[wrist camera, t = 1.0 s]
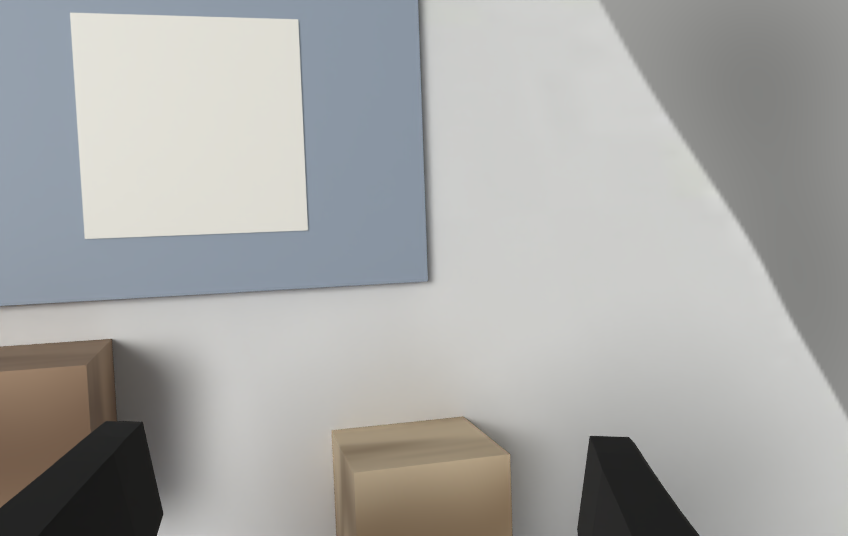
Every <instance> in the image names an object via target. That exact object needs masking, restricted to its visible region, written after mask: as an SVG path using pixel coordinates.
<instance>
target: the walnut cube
mask: <svg viewBox="0 0 848 536" xmlns="http://www.w3.org/2000/svg"><path fill="white" fill-rule="evenodd" d="M105 421H117V411H116V396H115V380H114V364H113V349H112V339H103V340H89V341H75V342H60V343H46V344H32V345H17V346H3V347H0V508H1V507H2V506H3V505H4V504H5V503H7V502H8V501H9V500H10V499H12V498H13V497H14V496H15V495H16V494H18V493H19V492H20V491H21V490H23V489H24V488H25V487H26V486H27V485H29V484H30V483H31V482H32V481H34V480H35V479H36V478H37V477H38V476H40V475H41V474H42V473H43V472H45V471H46V470H47V469H48V468H49V467H50V466H52V465H53V464H54V463H55V462H56V461H58V460H59V459H60V458H61V457H62V456H64V455H65V454H66V453H67V452H68V451H70V450H71V449H72V448H73V447H74V446H76V445H77V444H78V443H79V442H80V441H82V440H83V439H84V438H85V437H86V436H88V435H89V434H90V433H91V432H92V431H94V430H95V429H96V428H97V427H99V426H100V425H101V424H103V423H104V422H105Z"/></svg>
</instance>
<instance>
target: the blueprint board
mask: <svg viewBox="0 0 848 536" xmlns="http://www.w3.org/2000/svg"><path fill="white" fill-rule="evenodd" d="M423 281H428V271H427V242H426V214H425V186H424V158H423V129H422V101H421V73H420V45H419V16H418V0H0V306H8V305H25V304H42V303H60V302H77V301H94V300H112V299H129V298H146V297H164V296H181V295H198V294H216V293H233V292H250V291H268V290H285V289H302V288H319V287H337V286H354V285H371V284H389V283H406V282H423Z"/></svg>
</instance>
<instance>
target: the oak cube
mask: <svg viewBox="0 0 848 536" xmlns="http://www.w3.org/2000/svg"><path fill="white" fill-rule="evenodd" d="M332 449H333V472H334V494H335V516H336V536H512V503H511V469H510V454H509V453H508V452H507V451H506V450H504V449H503V448H502V447H501V446H499V445H498V444H497V443H496V442H494V441H493V440H492V439H491V438H489V437H488V436H487V435H486V434H484V433H483V432H482V431H481V430H479V429H478V428H477V427H476V426H474V425H473V424H472V423H471V422H469V421H468V420H467V419H466V418H464V417H454V418H445V419H435V420H426V421H416V422H407V423H397V424H388V425H378V426H368V427H359V428H349V429H340V430H332Z"/></svg>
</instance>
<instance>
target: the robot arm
mask: <svg viewBox="0 0 848 536" xmlns="http://www.w3.org/2000/svg"><path fill="white" fill-rule="evenodd" d="M162 516H163V510H162V506H161V501H160V497H159V493H158V488H157V484H156V479H155V475H154V471H153V466H152V462H151V457H150V453H149V448H148V444H147V440H146V435H145V431H144V426H143V422H124V421H105V422H104V423H103V424H101V425H100V426H99V427H97V428H96V429H95V430H94V431H92V432H91V433H90V434H89V435H88V436H86V437H85V438H84V439H83V440H82V441H80V442H79V443H78V444H77V445H76V446H74V447H73V448H72V449H71V450H70V451H68V452H67V453H66V454H65V455H64V456H62V457H61V458H60V459H59V460H58V461H56V462H55V463H54V464H53V465H52V466H50V467H49V468H48V469H47V470H46V471H45V472H43V473H42V474H41V475H40V476H38V477H37V478H36V479H35V480H34V481H32V482H31V483H30V484H29V485H27V486H26V487H25V488H24V489H23V490H21V491H20V492H19V493H18V494H16V495H15V496H14V497H13V498H12V499H10V500H9V501H8V502H7V503H5V504H4V505H3V506H2V507H1V508H0V536H157V533H158V530H159V526H160V523H161V520H162ZM577 530H578V536H699V534H698V533H697V532H696V530H695V529H694V528H693V527H692V525H691V524H690V523H689V521H688V520H687V519H686V517H685V516H684V515H683V513H682V512H681V511H680V509H679V508H678V507H677V505H676V504H675V502H674V501H673V500H672V498H671V497H670V495H669V494H668V492H667V491H666V490H665V488H664V487H663V485H662V484H661V482H660V481H659V480H658V478H657V477H656V475H655V474H654V472H653V471H652V469H651V468H650V466H649V465H648V463H647V462H646V460H645V459H644V457H643V456H642V454H641V452H640V451H639V449H638V448H637V446H636V445H635V443H634V442H633V441H632V440H631V439H630V438H629V437H605V436H590V438H589V446H588V453H587V461H586V468H585V476H584V483H583V491H582V498H581V505H580V513H579V520H578V528H577Z"/></svg>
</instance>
